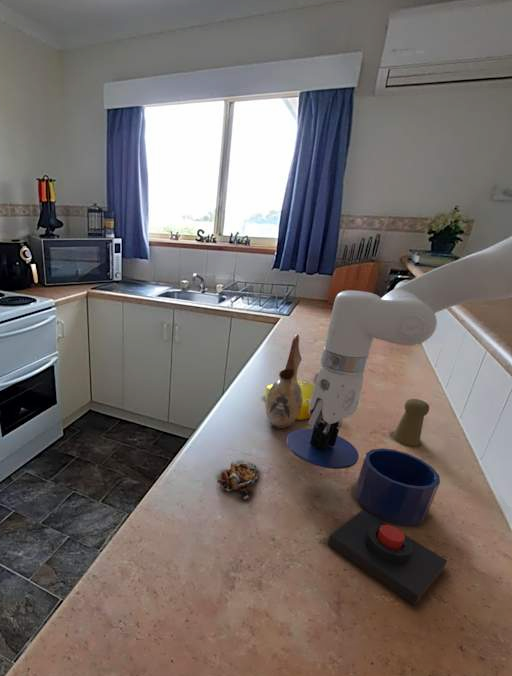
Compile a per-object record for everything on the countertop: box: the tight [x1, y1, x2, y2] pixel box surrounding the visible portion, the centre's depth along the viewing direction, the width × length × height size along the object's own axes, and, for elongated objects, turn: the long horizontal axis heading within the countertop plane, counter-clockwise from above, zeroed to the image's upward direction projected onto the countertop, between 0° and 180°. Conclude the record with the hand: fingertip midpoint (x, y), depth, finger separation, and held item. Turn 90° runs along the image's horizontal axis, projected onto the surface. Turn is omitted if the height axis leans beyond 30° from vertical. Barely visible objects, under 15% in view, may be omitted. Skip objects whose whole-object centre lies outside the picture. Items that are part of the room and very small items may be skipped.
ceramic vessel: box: [264, 334, 303, 429], centre depth 101 cm, size 16×9×25 cm, turn 154°
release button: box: [377, 524, 405, 550], centre depth 65 cm, size 4×4×2 cm
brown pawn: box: [392, 398, 430, 447], centre depth 100 cm, size 6×6×11 cm
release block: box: [327, 509, 448, 607], centre depth 66 cm, size 14×11×4 cm
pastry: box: [216, 460, 260, 501], centre depth 83 cm, size 7×12×4 cm, turn 153°
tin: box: [354, 447, 441, 527], centre depth 78 cm, size 13×13×8 cm
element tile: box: [264, 379, 315, 421], centre depth 116 cm, size 15×15×5 cm
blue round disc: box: [286, 421, 360, 470], centre depth 79 cm, size 14×14×6 cm
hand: (322, 444), depth 80 cm, fingers closed on blue round disc, 2 cm apart
